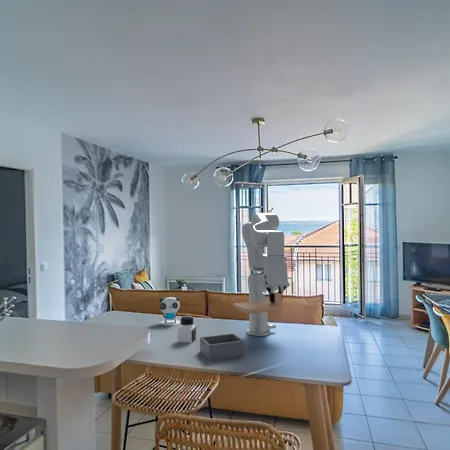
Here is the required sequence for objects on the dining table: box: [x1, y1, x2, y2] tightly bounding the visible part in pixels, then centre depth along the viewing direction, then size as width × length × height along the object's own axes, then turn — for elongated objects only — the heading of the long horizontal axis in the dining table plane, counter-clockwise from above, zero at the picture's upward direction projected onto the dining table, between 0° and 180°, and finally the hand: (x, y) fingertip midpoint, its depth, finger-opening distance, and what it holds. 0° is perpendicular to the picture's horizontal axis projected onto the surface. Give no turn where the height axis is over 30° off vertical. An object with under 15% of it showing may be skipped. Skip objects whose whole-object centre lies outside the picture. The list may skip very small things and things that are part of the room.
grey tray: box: [199, 332, 245, 362], centre depth 152 cm, size 16×12×7 cm
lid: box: [233, 291, 283, 315], centre depth 149 cm, size 19×13×7 cm, turn 109°
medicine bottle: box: [177, 315, 197, 344], centre depth 171 cm, size 7×7×12 cm
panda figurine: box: [158, 296, 181, 326], centre depth 206 cm, size 12×11×15 cm
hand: (276, 301), depth 151 cm, fingers closed on lid, 3 cm apart
